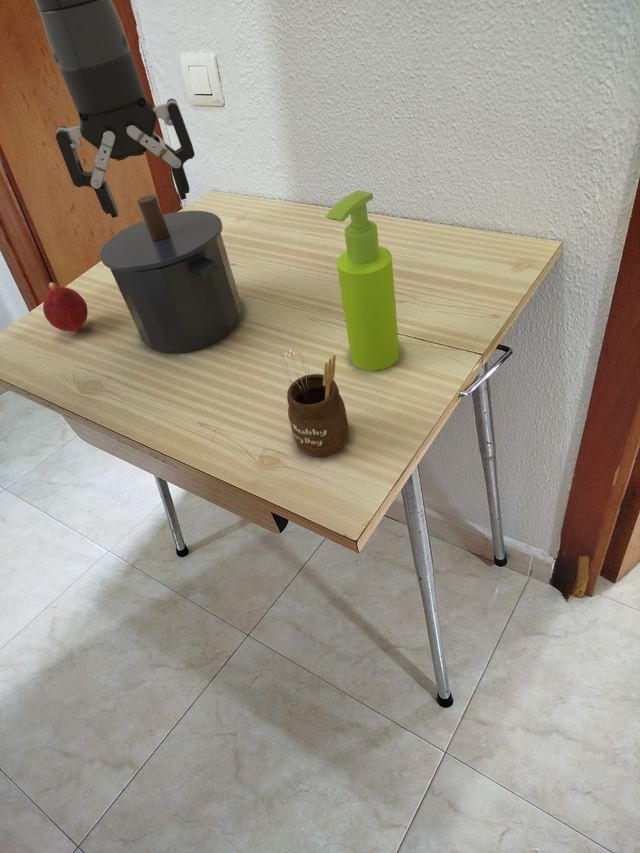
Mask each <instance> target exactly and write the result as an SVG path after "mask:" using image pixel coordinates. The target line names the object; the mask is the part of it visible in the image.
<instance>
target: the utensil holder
mask: <svg viewBox="0 0 640 853" xmlns="http://www.w3.org/2000/svg"><path fill="white" fill-rule="evenodd" d="M294 352H297V353H298V354H299V356H300V358H299V356H298V355H297V354H296V353H294ZM288 354H289V358H290V361H291V364H292V367H293V369H294V372H295V375H296V377H297V379H295V378H294V376H293V375H292V373H291V371H290V369H289V366H288V364H287V362H286V357H287V355H288ZM293 354H294V355H295V356H296V357H297V358H298V360H299V361H300V364H301V366H302V368H303V372H304V373H305V375H303V376H301V374H300V370H299V369H298V366H297V363H296V362H295V358H294V356H293ZM283 359H284V363H285V365H284V366H283ZM292 359H293V360H292ZM303 359H304V360H303ZM336 360H337V359H336V354H333V355H332V358H329V360H328V362H325V363H324V369H323V374H321V373H312V374H307V371H308V372H310V370H309V366H308V363H307V361H306V359H305V356H304V355H303V354H302V353H301V352H300V351H299V350H297V349H295V348H292V349H288V350H286V351H285V355H282V356H281V360H280V363H281V367H282V369H283V372H284V374H285V376H286V378H287V380H289V382H290V383H291V384H290V385H289V386H288V389H287V392H286V395H287V396H286V399H287V400H286V401H287V404H288V408H287V414H288V422H289V425H290V428H291V432H292V433H291V434H292V437H293V439H294V442H295V444H296V446H297V448H298V449H299V450H300V451H301V452H302V453H304V454H306V455H308V456H311V457H317V458H318V457H319V458H320V457H327V456H330V455H333V454H335V453H337V452H339V451H340V450H342V448H344V446H345V445H346V444H347V442H348V439H349V434H350V429H349V428H350V427H349V422H348V416H347V411H346V405H345V402H344V399H343V398H342V396H341V395H340V390H339V387H338V385H337V382H336V381H335V379H334V378H335V376H336V375H335V373H336ZM304 362H305V363H304ZM305 364H306V367H307V370H306V369H305V368H306V367H305ZM294 365H295V366H294ZM286 366H287V367H286ZM284 367H285V368H284ZM295 367H296V369H295ZM285 369H286V371H285ZM296 370H297V371H298V373H297V371H296ZM287 375H288V376H287ZM290 375H291V377H292V378H293V380H294V381H292V379H291V377H290ZM298 375H299V376H298Z"/></svg>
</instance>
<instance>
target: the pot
mask: <svg viewBox="0 0 640 853" xmlns="http://www.w3.org/2000/svg"><path fill="white" fill-rule="evenodd" d="M123 230H124V229H121V230H119V232H121V231H123ZM110 271H111V274H112V276H113V279H114V281H115V283H116V285H117V287H118V289H119V291H120V293H121V296H122V298H123V300H124V302H125V306H126V307H127V309H128V312H129V314H130V316H131V318H132V320H133V323H134V325H135V327H136V329H137V331H138V333H139V336H140V338H141V340H142V342H143V343H144V344H145V345H146V346H147V347H148V348H150V349H151V350H152V351H155V352H159V353H163V354H164V353H165V354H185V353H191V352H196V351H199V350H202V349H204V348H208V347H210V346H212V345H214V344H216V343H218V342H219V341H221V340H223V339H224V338H226V337H227V336H228V335H230V334H231V333H232V332H233V331H234V330H235V328H237V327H238V325H239V323H240V322H241V319H242V317H243V309H242V308H243V304H242V301H241V298H240V295H239V291H238V288H237V285H236V281H235V278H234V274H233V270H232V266H231V264H230V260H229V257H228V254H227V251H226V247H225V243H224V240H223V236H222V233H221V234H220V236H219V237H218V238H217V239H216V240H215V241H214V242H213V243H212V244H211V245H209V246H208V247H207V248H205V249H204V250H202V251H200V252H199V253H197V254H195V255H193V256H191V257H188V258H186V259H184V260H181V261H179V262H176V263H173V264H170V265H167V266H163V267H159V268H154V269H149V270H143V271H117V270H113V269H110Z"/></svg>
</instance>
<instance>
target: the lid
mask: <svg viewBox="0 0 640 853" xmlns="http://www.w3.org/2000/svg"><path fill="white" fill-rule="evenodd" d="M137 204H138V207H139V208H140V209H139V210H140V212H141V214H142V217H143V220H142V221H140V222H139V221H138V222H136V223H134V224H131V225H130V226H128V227H126V228H124V229H122V230H123V231H122V230H120V231H121V232H120V231H119V232H118V233H116V234H114V235H113V236H112V237H111V238H110V239H108V240H107V241H106V242H105V243H104V244H103V245H102V247H101V249H100V252H99V257H100V260H101V262H102V265H103V266H105V267H107V268H109V270H111V269H113V270H117V271H143V270H149V269H154V268H159V267H163V266H167V265H170V264H173V263H176V262H179V261H181V260H184V259H186V258H188V257H191V256H193V255H195V254H197V253H199V252H200V251H202V250H204V249H205V248H207V247H208V246H209V245H211V244H212V243H213V242H214V241H215V240H216V239H217V238H218V237H219V236H220V234H221V235H222V232H223V222H222V219H221V218H220V217H219V216H218V215H217V214H215V213H213V212H211V211H210V212H209V211H204V210H182V211H176V212H175V211H174V212H169V213H165V214H163V212H162V209H161V206H160V203H159V200H158V198H157V196H156V195H154V194H150V195H146V196H142V197H141V198H139V199H138V200H137Z"/></svg>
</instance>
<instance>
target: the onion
mask: <svg viewBox="0 0 640 853" xmlns="http://www.w3.org/2000/svg"><path fill="white" fill-rule="evenodd" d="M48 287H49V290H48V292H47V294H46V295H45V297H44V300H43V304H42V310H43V315H44V317H45V319H46V320H47V321H48V323H49V324H50V325H51V326H53V327H54V328H55V329H58V330H60V331H63V332H69V333H71V332H72V333H76V332H79V331H80V329H82V327H83V326H84V324H85V322H86V321H87V319H88V310H89V309H88V306H87V302H86V300H85V299H84V298H83V296H82V295H81V294H79V293H78V292H77V291H75V290H74V289H73V288H69V287H66V286H58V285H57V284H56V283H55V282H49V284H48Z"/></svg>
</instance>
